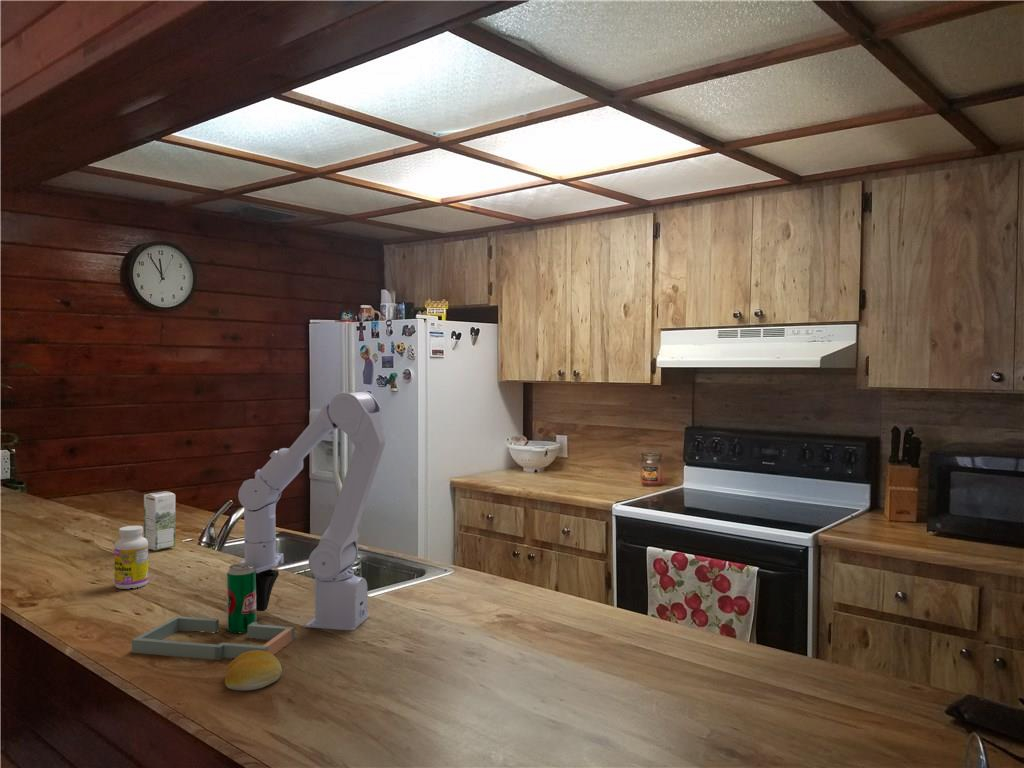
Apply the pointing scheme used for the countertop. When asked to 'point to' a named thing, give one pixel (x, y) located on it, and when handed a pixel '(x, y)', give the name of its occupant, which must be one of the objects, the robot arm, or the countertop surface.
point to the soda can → (241, 597)
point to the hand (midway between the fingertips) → (260, 609)
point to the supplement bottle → (131, 558)
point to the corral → (157, 646)
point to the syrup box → (159, 520)
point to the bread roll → (252, 671)
